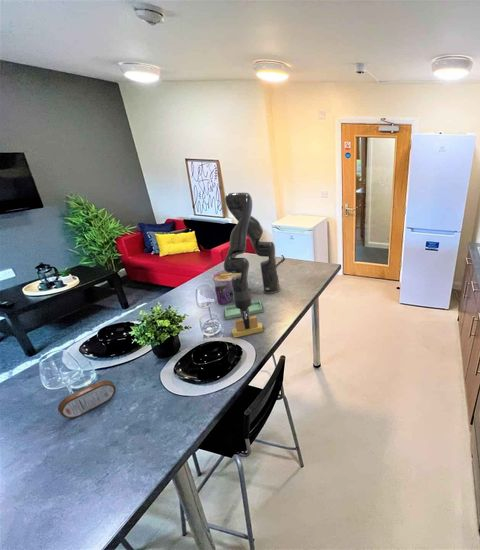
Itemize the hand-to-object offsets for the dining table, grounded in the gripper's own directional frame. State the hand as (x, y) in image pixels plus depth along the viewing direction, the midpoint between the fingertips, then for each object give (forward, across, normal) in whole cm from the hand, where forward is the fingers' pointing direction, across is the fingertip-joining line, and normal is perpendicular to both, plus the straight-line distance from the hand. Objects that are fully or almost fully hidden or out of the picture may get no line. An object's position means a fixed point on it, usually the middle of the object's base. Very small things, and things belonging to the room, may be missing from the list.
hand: (247, 326), depth 145 cm
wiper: (+3, 0, 0) cm, 3 cm away
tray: (+3, +22, 0) cm, 22 cm away
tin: (+4, -26, +55) cm, 61 cm away
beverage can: (+3, +38, +10) cm, 39 cm away
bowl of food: (+3, +52, +5) cm, 52 cm away
